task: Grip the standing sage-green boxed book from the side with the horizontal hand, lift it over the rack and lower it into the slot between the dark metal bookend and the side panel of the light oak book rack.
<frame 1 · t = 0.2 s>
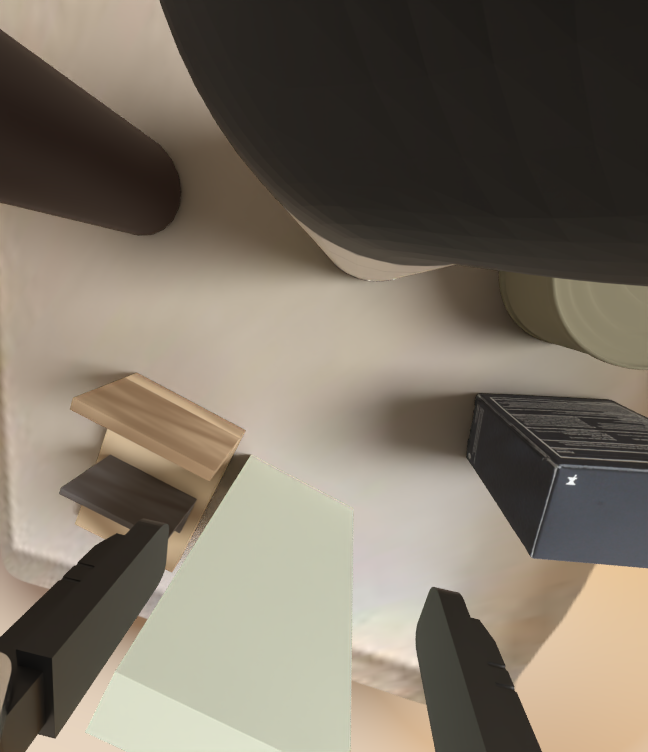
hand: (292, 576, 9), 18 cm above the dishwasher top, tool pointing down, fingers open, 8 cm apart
small box: (533, 430, 26), on the dishwasher top
can: (582, 264, 22), on the dishwasher top
bottle: (142, 188, 23), on the dishwasher top
rack: (160, 475, 30), on the dishwasher top
book: (291, 500, 30), on the dishwasher top
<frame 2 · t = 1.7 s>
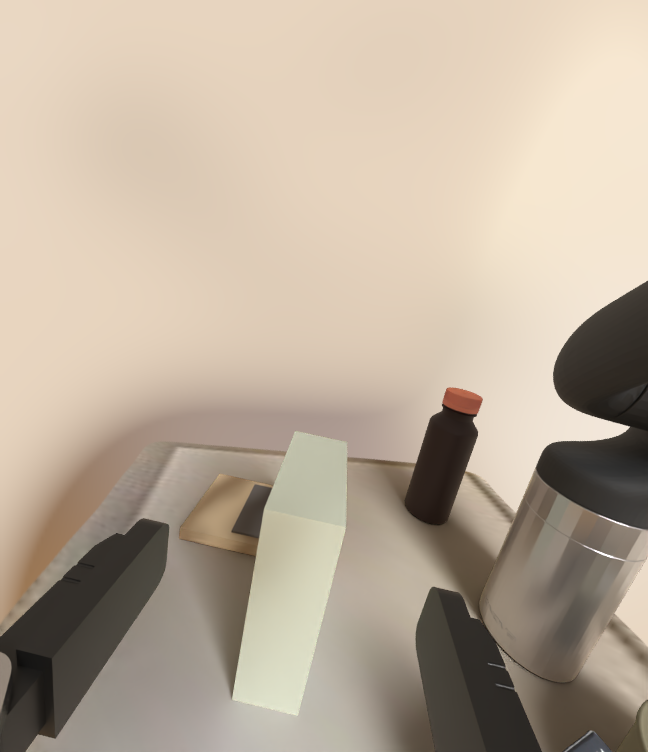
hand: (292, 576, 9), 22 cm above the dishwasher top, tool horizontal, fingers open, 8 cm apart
bottle: (425, 511, 49), on the dishwasher top
rack: (268, 521, 40), on the dishwasher top
book: (280, 629, 28), on the dishwasher top
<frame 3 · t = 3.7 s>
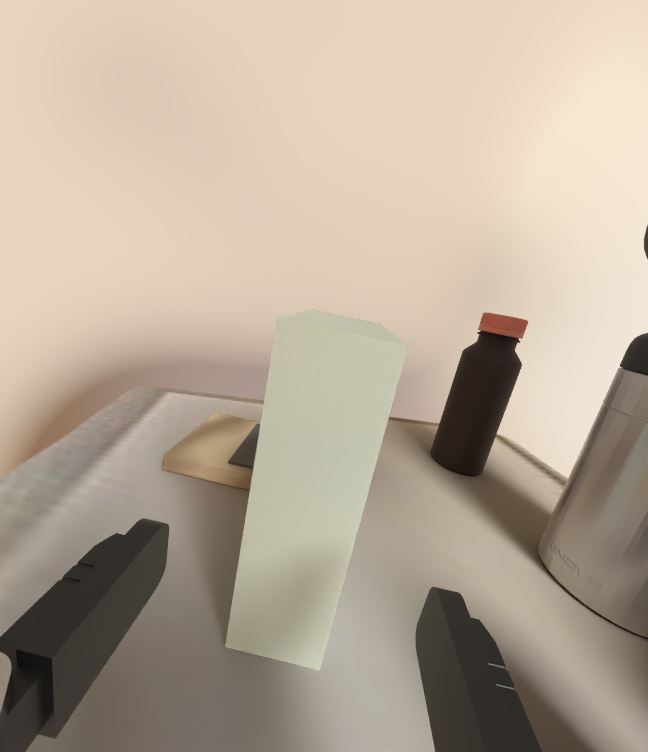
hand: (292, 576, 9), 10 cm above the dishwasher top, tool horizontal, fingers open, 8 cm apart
bottle: (454, 463, 42), on the dishwasher top
rack: (272, 461, 33), on the dishwasher top
book: (291, 568, 21), on the dishwasher top
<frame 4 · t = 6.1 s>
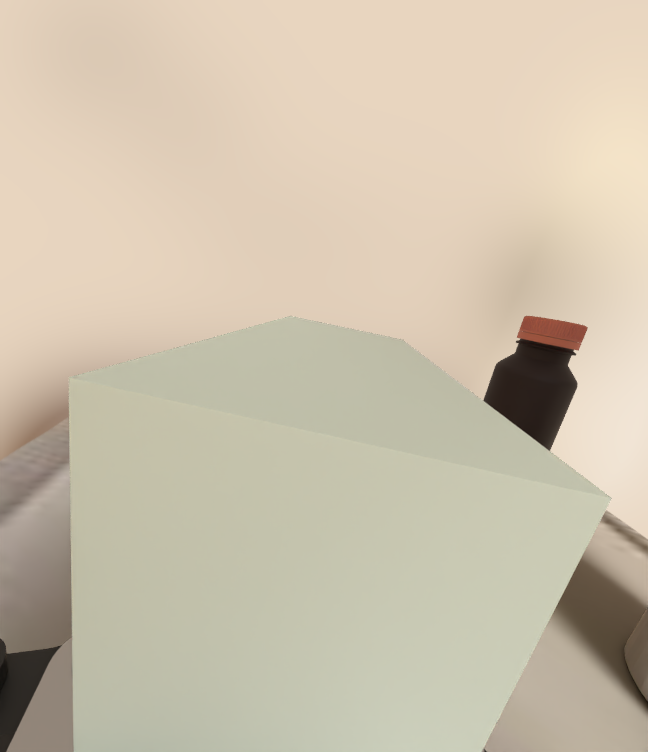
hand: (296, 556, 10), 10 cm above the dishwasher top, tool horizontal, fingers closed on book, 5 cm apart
bottle: (483, 505, 33), on the dishwasher top
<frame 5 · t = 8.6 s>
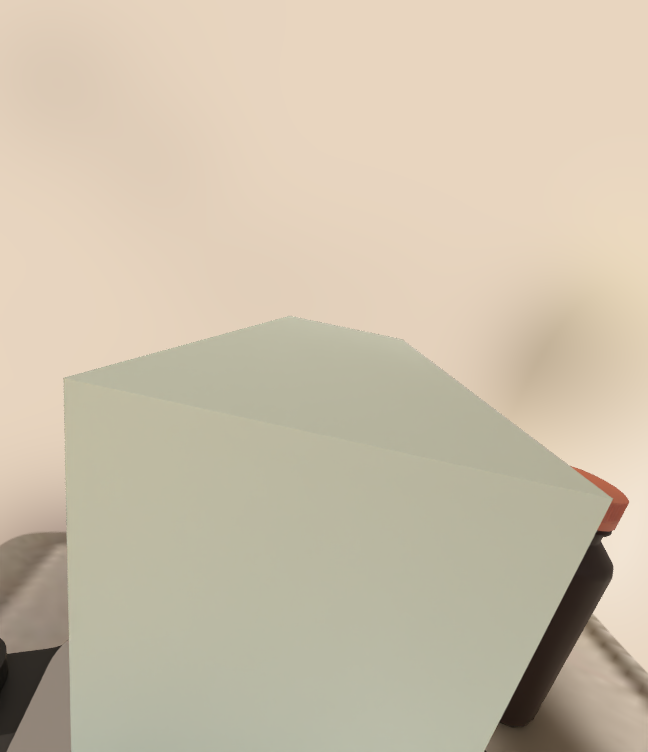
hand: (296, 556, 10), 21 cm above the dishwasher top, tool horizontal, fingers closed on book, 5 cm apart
bottle: (488, 678, 27), on the dishwasher top
when the fingers open (13 cm above the dishwasher top, at t = 11.4 s): book drops 1 cm, resting on rack.
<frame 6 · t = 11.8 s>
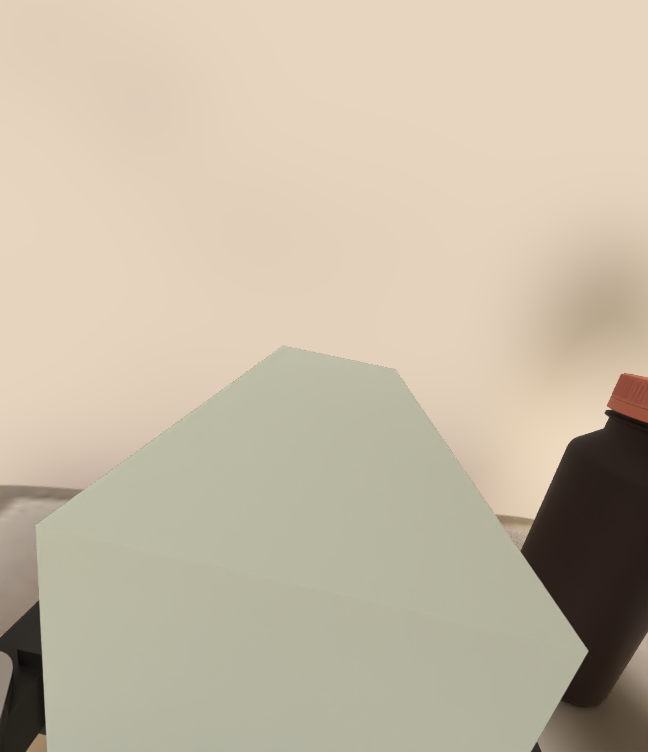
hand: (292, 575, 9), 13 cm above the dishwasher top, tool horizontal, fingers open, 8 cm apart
bottle: (542, 650, 22), on the dishwasher top
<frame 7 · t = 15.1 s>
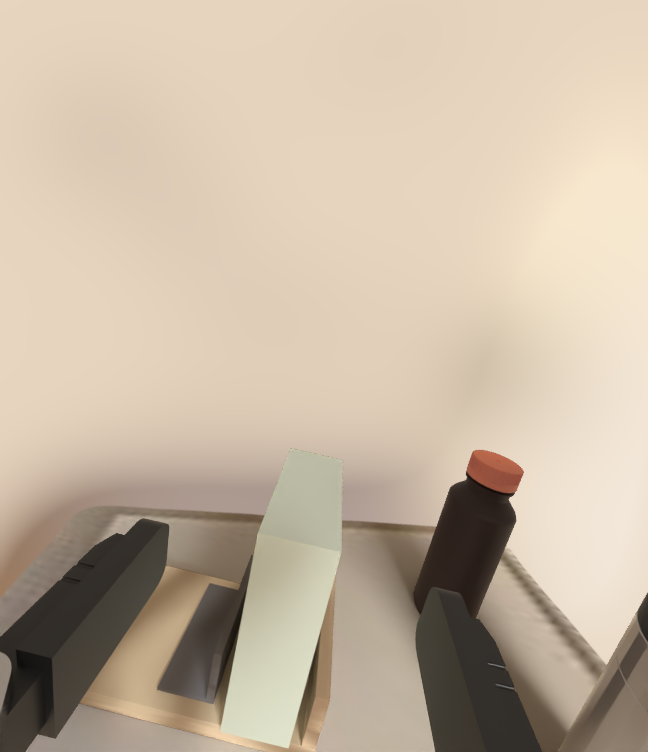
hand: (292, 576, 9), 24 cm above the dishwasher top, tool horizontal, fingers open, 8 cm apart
bottle: (440, 609, 37), on the dishwasher top
rack: (221, 650, 28), on the dishwasher top
book: (272, 654, 27), point 1 cm above the dishwasher top, touching rack
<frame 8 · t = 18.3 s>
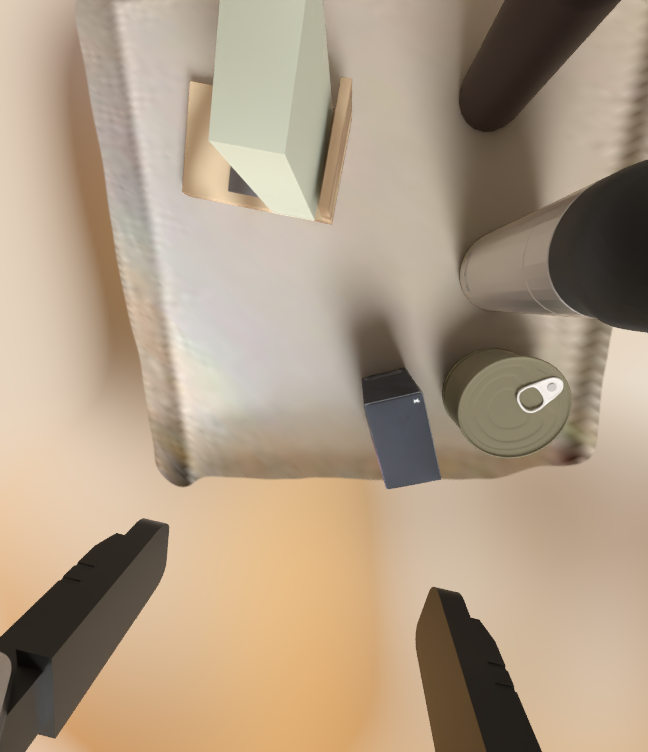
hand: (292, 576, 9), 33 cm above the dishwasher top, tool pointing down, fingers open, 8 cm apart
small box: (390, 407, 42), on the dishwasher top
can: (486, 391, 41), on the dishwasher top
bottle: (489, 97, 33), on the dishwasher top
rack: (266, 159, 36), on the dishwasher top
book: (301, 164, 35), point 1 cm above the dishwasher top, touching rack
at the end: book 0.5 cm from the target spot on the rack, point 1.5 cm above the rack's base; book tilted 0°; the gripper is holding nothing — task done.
